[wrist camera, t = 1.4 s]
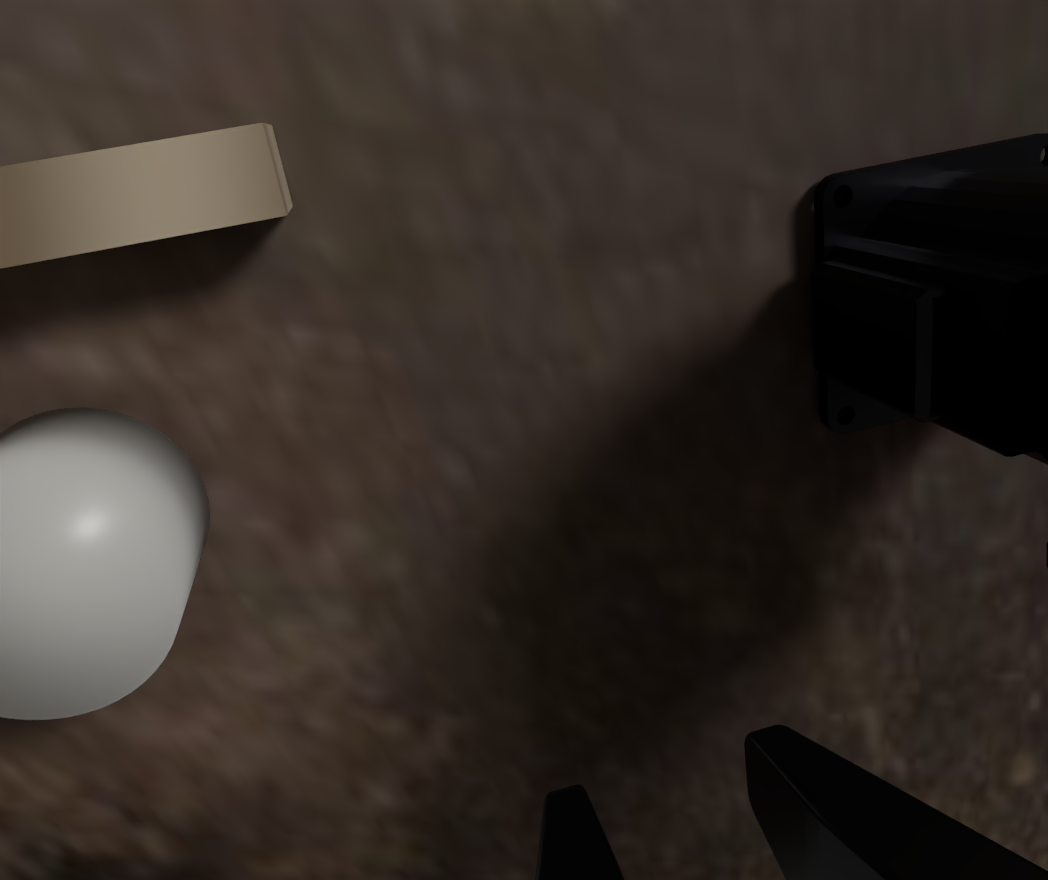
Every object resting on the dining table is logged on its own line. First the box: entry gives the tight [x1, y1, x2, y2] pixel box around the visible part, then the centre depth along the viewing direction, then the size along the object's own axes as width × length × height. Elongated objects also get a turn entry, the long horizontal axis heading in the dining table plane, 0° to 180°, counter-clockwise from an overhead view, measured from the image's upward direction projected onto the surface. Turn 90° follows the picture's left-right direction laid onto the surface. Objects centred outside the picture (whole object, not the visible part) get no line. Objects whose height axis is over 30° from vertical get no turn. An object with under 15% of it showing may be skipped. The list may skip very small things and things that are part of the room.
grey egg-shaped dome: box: [0, 408, 210, 720], centre depth 17 cm, size 5×5×4 cm
